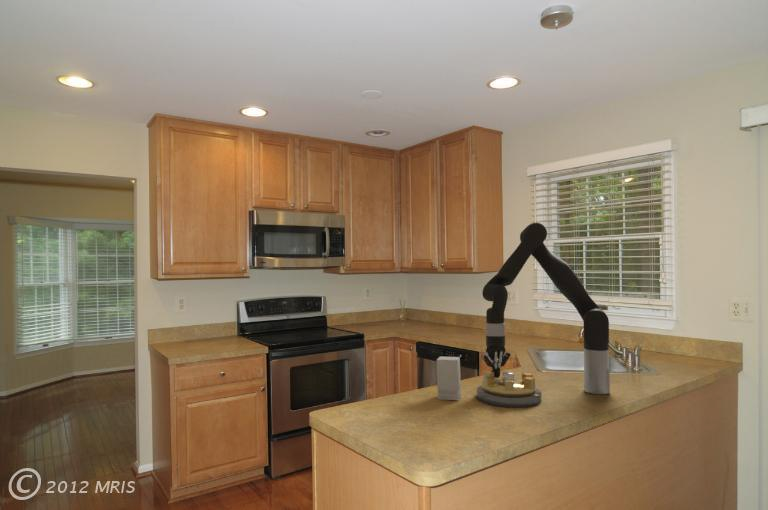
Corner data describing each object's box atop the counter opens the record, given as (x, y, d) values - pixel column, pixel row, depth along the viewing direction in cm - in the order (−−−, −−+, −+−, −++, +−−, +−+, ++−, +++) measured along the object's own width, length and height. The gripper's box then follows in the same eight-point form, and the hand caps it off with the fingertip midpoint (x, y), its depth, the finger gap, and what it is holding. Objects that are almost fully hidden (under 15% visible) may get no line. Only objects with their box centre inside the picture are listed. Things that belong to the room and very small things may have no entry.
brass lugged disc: (498, 381, 206) (498, 365, 206) (544, 389, 193) (544, 372, 193) (472, 390, 191) (472, 373, 191) (520, 400, 178) (520, 382, 178)
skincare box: (461, 396, 195) (461, 356, 195) (458, 401, 188) (457, 360, 189) (440, 395, 197) (440, 355, 198) (436, 399, 191) (436, 358, 191)
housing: (541, 392, 200) (541, 384, 200) (541, 410, 177) (541, 401, 177) (480, 388, 207) (480, 380, 207) (473, 404, 184) (472, 395, 184)
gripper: (503, 331, 206) (504, 373, 206) (476, 333, 201) (476, 377, 201) (515, 334, 199) (515, 377, 199) (486, 336, 194) (487, 381, 194)
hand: (496, 377), depth 200 cm, fingers closed
